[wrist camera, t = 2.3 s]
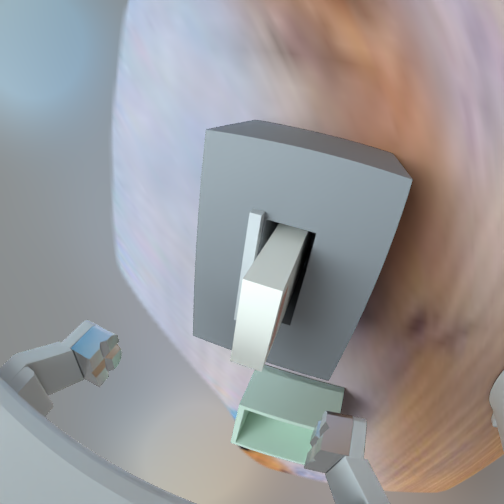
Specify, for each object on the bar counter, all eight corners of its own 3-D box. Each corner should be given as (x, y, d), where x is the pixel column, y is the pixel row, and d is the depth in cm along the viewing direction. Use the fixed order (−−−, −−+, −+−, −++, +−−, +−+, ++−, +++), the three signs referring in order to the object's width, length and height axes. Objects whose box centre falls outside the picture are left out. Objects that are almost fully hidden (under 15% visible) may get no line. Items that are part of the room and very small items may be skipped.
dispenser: (392, 153, 19) (415, 182, 12) (339, 312, 26) (326, 388, 19) (255, 119, 21) (200, 130, 14) (233, 280, 28) (189, 342, 21)
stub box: (344, 387, 30) (336, 433, 25) (317, 428, 35) (307, 465, 30) (258, 362, 32) (239, 404, 27) (246, 406, 37) (230, 442, 32)
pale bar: (319, 202, 21) (283, 291, 11) (304, 262, 23) (261, 372, 14) (296, 195, 21) (241, 278, 12) (283, 256, 23) (229, 361, 14)
